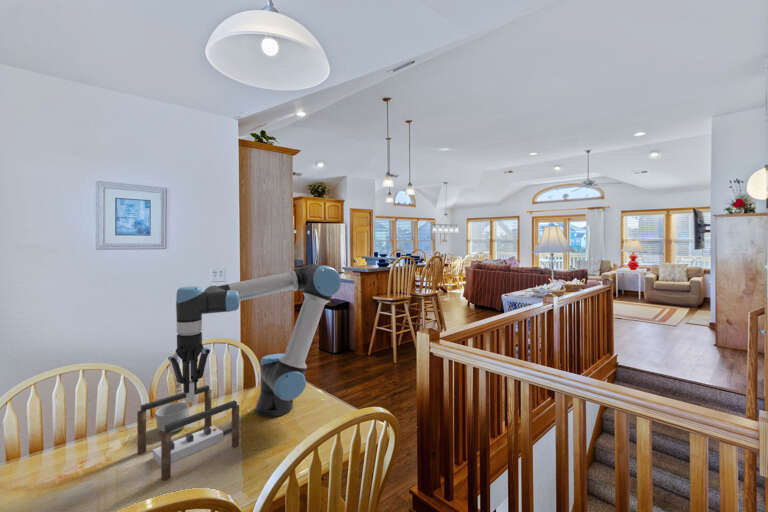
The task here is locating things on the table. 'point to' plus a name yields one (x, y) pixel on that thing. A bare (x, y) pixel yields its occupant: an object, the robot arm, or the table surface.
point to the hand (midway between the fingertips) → (190, 400)
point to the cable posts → (167, 435)
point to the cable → (199, 416)
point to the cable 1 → (171, 399)
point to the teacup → (171, 414)
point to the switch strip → (192, 443)
